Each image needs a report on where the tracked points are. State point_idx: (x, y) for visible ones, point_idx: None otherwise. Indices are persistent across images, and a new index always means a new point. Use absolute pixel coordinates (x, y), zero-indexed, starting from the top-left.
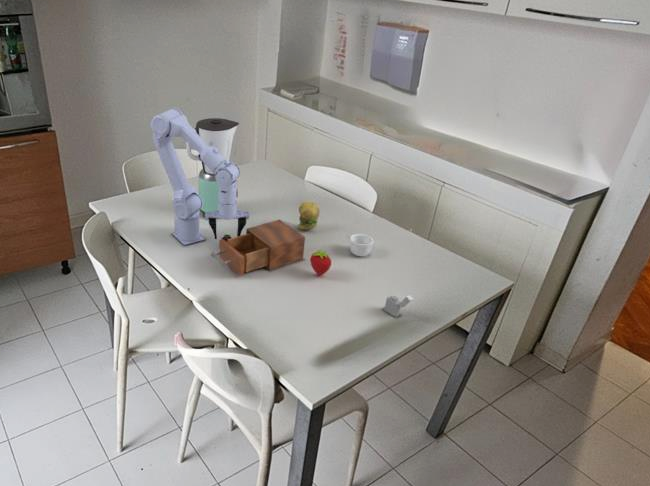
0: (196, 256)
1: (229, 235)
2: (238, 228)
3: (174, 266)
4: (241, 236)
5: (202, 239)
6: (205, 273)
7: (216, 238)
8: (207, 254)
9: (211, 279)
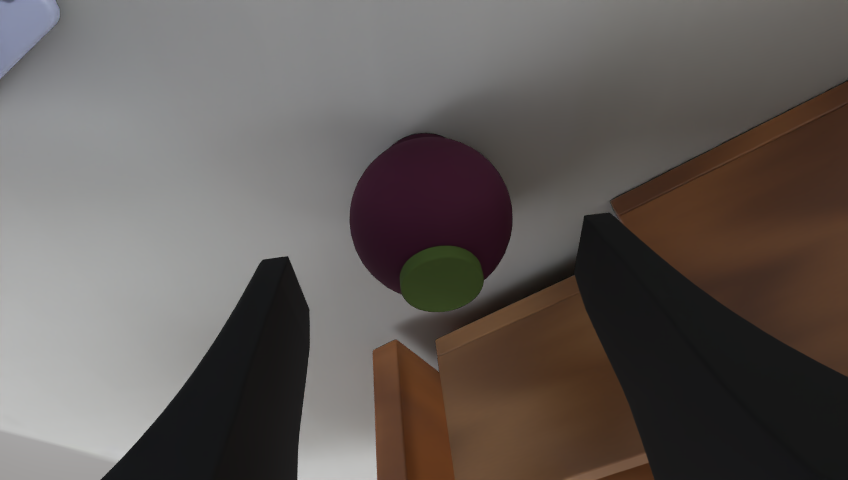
0: (160, 316)
1: (477, 275)
2: (646, 419)
3: (65, 416)
4: (624, 468)
5: (37, 40)
6: (304, 430)
7: (305, 325)
8: (247, 282)
9: (351, 453)
